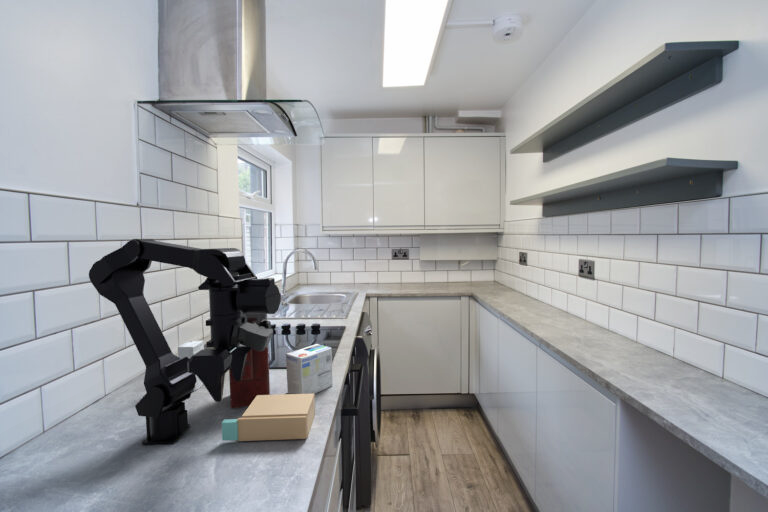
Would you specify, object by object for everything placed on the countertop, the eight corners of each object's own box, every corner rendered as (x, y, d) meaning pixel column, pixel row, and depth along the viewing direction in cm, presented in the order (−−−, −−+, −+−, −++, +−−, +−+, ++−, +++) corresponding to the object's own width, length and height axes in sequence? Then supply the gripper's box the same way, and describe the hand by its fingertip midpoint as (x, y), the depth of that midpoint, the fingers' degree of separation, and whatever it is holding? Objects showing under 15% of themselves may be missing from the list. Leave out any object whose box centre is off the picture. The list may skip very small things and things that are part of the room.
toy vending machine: (229, 413, 80) (224, 294, 78) (234, 393, 90) (229, 287, 89) (269, 406, 82) (265, 291, 81) (269, 387, 93) (266, 285, 92)
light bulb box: (317, 379, 98) (316, 342, 97) (333, 385, 94) (332, 347, 93) (286, 393, 90) (284, 352, 89) (301, 400, 85) (300, 358, 85)
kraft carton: (242, 439, 69) (241, 415, 69) (257, 416, 78) (257, 395, 78) (307, 437, 69) (306, 413, 69) (315, 414, 78) (314, 393, 78)
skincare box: (196, 391, 92) (193, 346, 91) (178, 391, 91) (176, 347, 91) (207, 381, 98) (205, 340, 97) (191, 382, 98) (189, 340, 97)
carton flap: (222, 442, 68) (221, 420, 67) (225, 438, 69) (224, 417, 68) (306, 439, 68) (305, 418, 68) (307, 436, 69) (306, 414, 69)
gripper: (250, 323, 58) (253, 413, 59) (280, 302, 76) (282, 370, 77) (183, 324, 57) (187, 415, 58) (230, 303, 76) (232, 372, 77)
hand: (228, 390), depth 68 cm, fingers open, 9 cm apart
